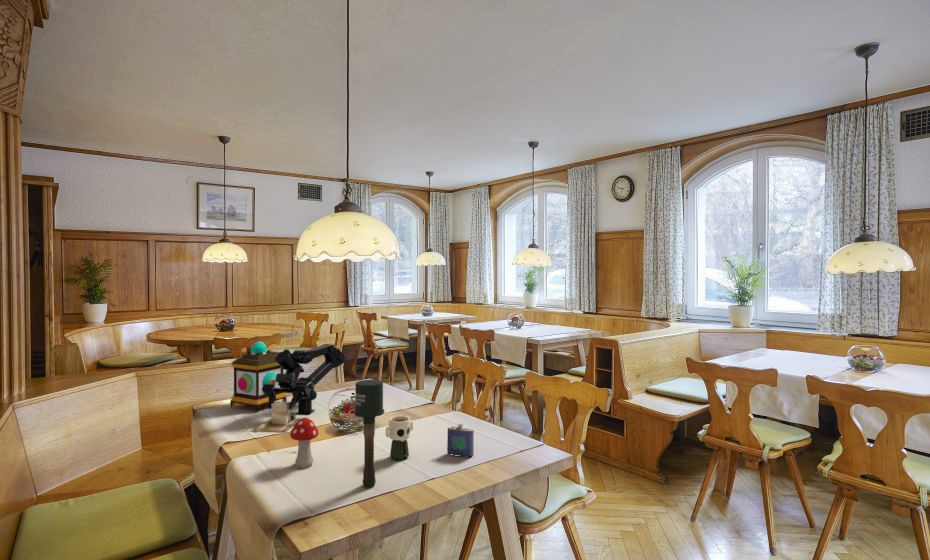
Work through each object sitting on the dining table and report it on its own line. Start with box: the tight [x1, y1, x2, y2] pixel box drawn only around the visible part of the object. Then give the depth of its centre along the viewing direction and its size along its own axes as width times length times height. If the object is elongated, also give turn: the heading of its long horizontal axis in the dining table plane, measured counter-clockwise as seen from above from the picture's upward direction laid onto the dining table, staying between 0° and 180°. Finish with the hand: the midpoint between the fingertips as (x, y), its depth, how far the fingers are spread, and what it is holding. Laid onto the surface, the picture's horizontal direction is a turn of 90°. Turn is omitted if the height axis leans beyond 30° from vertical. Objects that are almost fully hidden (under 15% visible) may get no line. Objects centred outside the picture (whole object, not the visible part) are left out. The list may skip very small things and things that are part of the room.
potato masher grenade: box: [353, 379, 385, 489], centre depth 138 cm, size 8×9×30 cm
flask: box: [446, 423, 475, 457], centre depth 162 cm, size 9×3×11 cm, turn 74°
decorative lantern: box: [230, 341, 287, 413], centre depth 222 cm, size 20×20×30 cm
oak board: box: [248, 413, 302, 434], centre depth 191 cm, size 18×14×3 cm
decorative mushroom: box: [289, 417, 319, 469], centre depth 153 cm, size 10×9×15 cm
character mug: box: [385, 415, 414, 460], centre depth 160 cm, size 11×7×13 cm, turn 133°
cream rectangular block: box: [270, 401, 291, 425], centre depth 193 cm, size 4×7×8 cm, turn 85°
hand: (279, 409), depth 192 cm, fingers open, 8 cm apart
